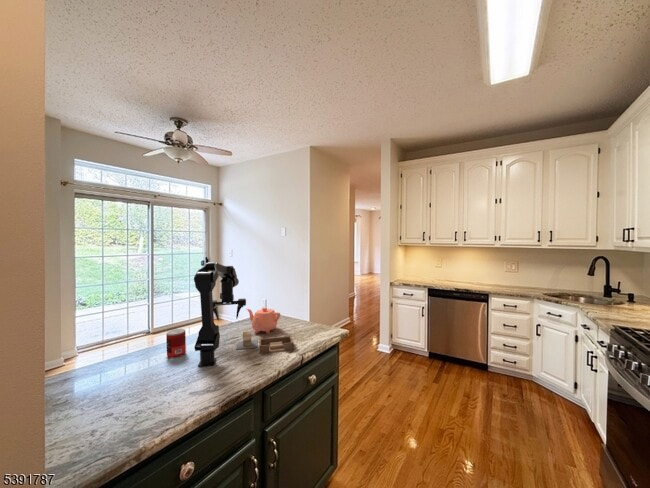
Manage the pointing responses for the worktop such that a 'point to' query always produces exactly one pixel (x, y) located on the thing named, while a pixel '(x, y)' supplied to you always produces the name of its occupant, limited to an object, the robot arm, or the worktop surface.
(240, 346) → the rubber mat
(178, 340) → the canned food
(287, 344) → the box
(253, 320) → the teapot
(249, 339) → the maple block
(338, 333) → the worktop surface
